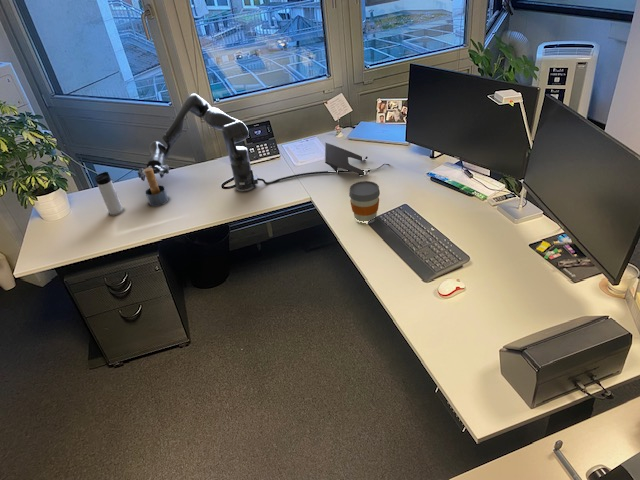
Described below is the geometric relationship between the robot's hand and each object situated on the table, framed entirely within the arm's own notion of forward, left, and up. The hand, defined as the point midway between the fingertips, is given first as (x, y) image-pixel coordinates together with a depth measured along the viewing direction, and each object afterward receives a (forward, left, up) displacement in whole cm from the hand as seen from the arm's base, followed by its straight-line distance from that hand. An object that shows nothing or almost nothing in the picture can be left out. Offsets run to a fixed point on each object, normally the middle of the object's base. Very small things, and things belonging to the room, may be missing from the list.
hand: (151, 177), depth 221 cm
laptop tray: (-94, +17, -13) cm, 96 cm away
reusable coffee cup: (-83, +63, -13) cm, 104 cm away
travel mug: (+20, +2, -13) cm, 24 cm away
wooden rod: (0, +2, -12) cm, 12 cm away
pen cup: (0, +2, -13) cm, 13 cm away
